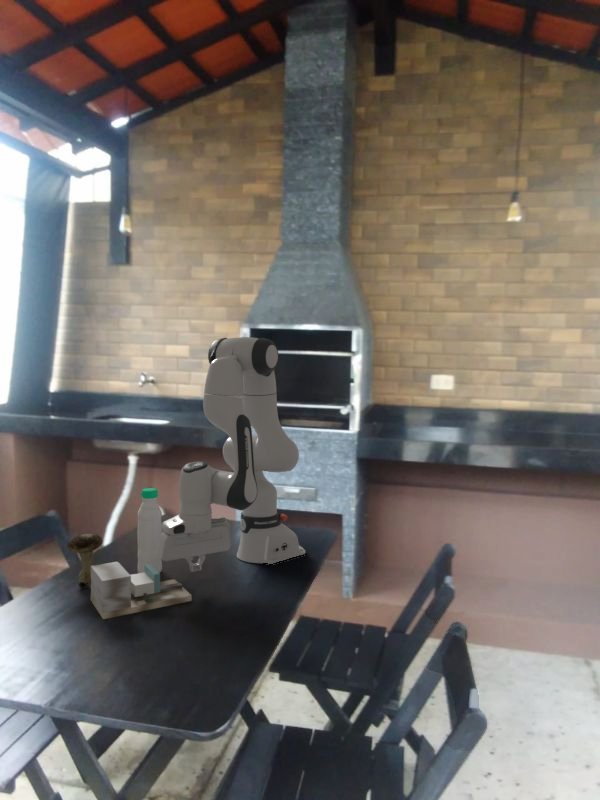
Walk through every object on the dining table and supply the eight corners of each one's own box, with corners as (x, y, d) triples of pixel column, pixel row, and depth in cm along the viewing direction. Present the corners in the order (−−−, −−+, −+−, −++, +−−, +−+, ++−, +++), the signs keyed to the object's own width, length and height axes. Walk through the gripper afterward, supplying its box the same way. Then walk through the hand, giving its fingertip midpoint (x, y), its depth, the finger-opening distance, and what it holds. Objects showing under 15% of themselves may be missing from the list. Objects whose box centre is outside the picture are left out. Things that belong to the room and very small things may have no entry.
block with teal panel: (150, 581, 170) (150, 564, 169) (163, 595, 161) (163, 576, 160) (126, 586, 166) (126, 568, 166) (138, 600, 157) (138, 581, 157)
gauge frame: (174, 584, 176) (174, 551, 175) (191, 600, 165) (191, 565, 164) (90, 600, 164) (90, 565, 163) (103, 619, 153) (102, 581, 152)
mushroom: (108, 588, 172) (108, 535, 171) (78, 596, 166) (77, 541, 165) (93, 578, 179) (92, 527, 178) (63, 586, 173) (62, 533, 172)
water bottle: (155, 577, 181) (155, 492, 179) (133, 575, 182) (132, 491, 180) (165, 569, 188) (165, 487, 186) (144, 566, 189) (143, 485, 187)
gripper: (225, 513, 179) (225, 560, 180) (156, 523, 169) (156, 573, 170) (234, 519, 174) (234, 567, 175) (163, 530, 163) (164, 581, 164)
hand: (195, 570), depth 172 cm, fingers closed
